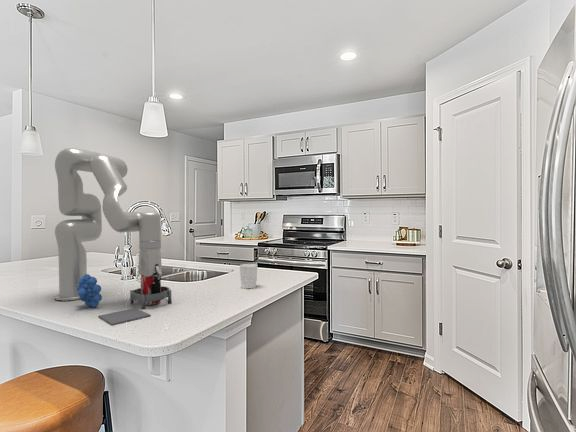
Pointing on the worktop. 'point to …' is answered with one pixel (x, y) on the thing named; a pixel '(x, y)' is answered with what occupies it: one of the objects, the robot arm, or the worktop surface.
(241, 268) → the white cup
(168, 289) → the ring stand
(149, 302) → the soda can
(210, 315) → the worktop surface
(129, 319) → the mat
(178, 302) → the worktop surface
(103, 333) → the worktop surface
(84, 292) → the grapes
